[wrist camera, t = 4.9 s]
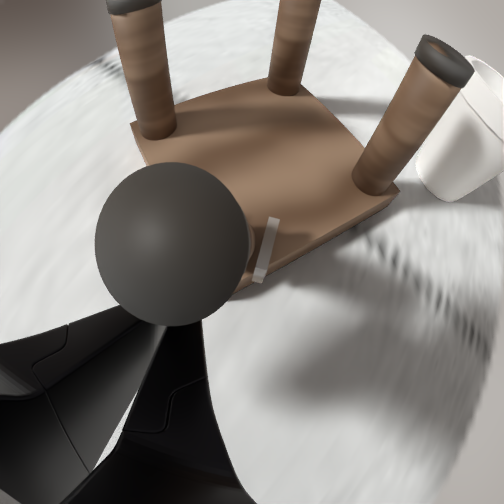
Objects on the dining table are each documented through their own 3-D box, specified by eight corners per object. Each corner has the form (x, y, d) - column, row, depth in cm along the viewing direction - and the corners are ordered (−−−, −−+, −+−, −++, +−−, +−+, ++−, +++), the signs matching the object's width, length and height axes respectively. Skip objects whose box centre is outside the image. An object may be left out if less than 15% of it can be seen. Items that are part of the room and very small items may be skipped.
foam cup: (392, 134, 26) (447, 41, 14) (452, 150, 27) (508, 78, 15) (418, 212, 23) (508, 119, 11) (479, 219, 24) (558, 153, 12)
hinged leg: (249, 276, 16) (223, 346, 5) (195, 261, 16) (84, 297, 6) (264, 220, 16) (267, 182, 5) (209, 206, 16) (117, 150, 5)
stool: (392, 213, 23) (498, 88, 9) (212, 318, 18) (167, 186, 5) (284, 91, 27) (309, -34, 13) (128, 146, 23) (83, -1, 9)
